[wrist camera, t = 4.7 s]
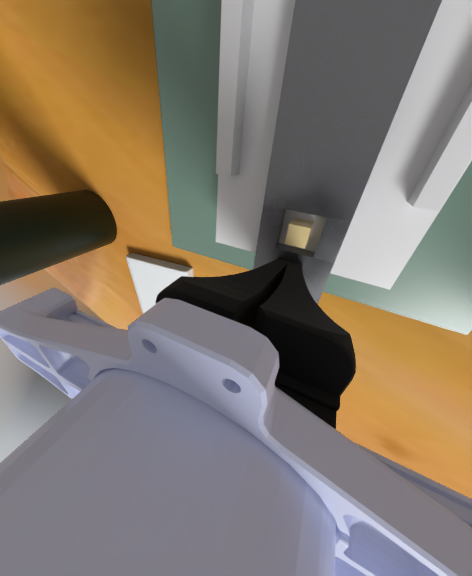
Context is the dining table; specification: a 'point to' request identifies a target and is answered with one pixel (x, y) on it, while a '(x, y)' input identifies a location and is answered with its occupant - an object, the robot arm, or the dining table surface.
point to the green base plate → (258, 146)
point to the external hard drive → (153, 277)
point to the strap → (336, 117)
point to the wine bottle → (51, 231)
